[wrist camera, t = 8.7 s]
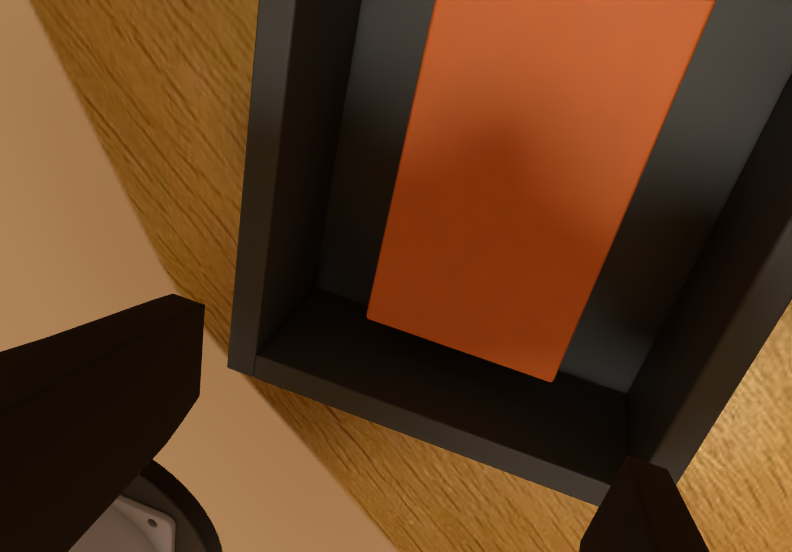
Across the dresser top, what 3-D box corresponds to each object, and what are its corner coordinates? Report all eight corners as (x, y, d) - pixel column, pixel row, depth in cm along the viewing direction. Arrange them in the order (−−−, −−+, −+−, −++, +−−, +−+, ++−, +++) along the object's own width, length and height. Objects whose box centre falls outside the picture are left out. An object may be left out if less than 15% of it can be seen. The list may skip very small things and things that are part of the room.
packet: (397, 269, 19) (364, 319, 16) (476, -65, 14) (449, -68, 12) (560, 323, 18) (552, 384, 16) (697, -10, 14) (718, -2, 11)
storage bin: (299, 287, 21) (226, 368, 17) (372, -206, 15) (280, -267, 10) (642, 406, 20) (651, 526, 15) (908, -92, 13) (1051, -112, 9)
